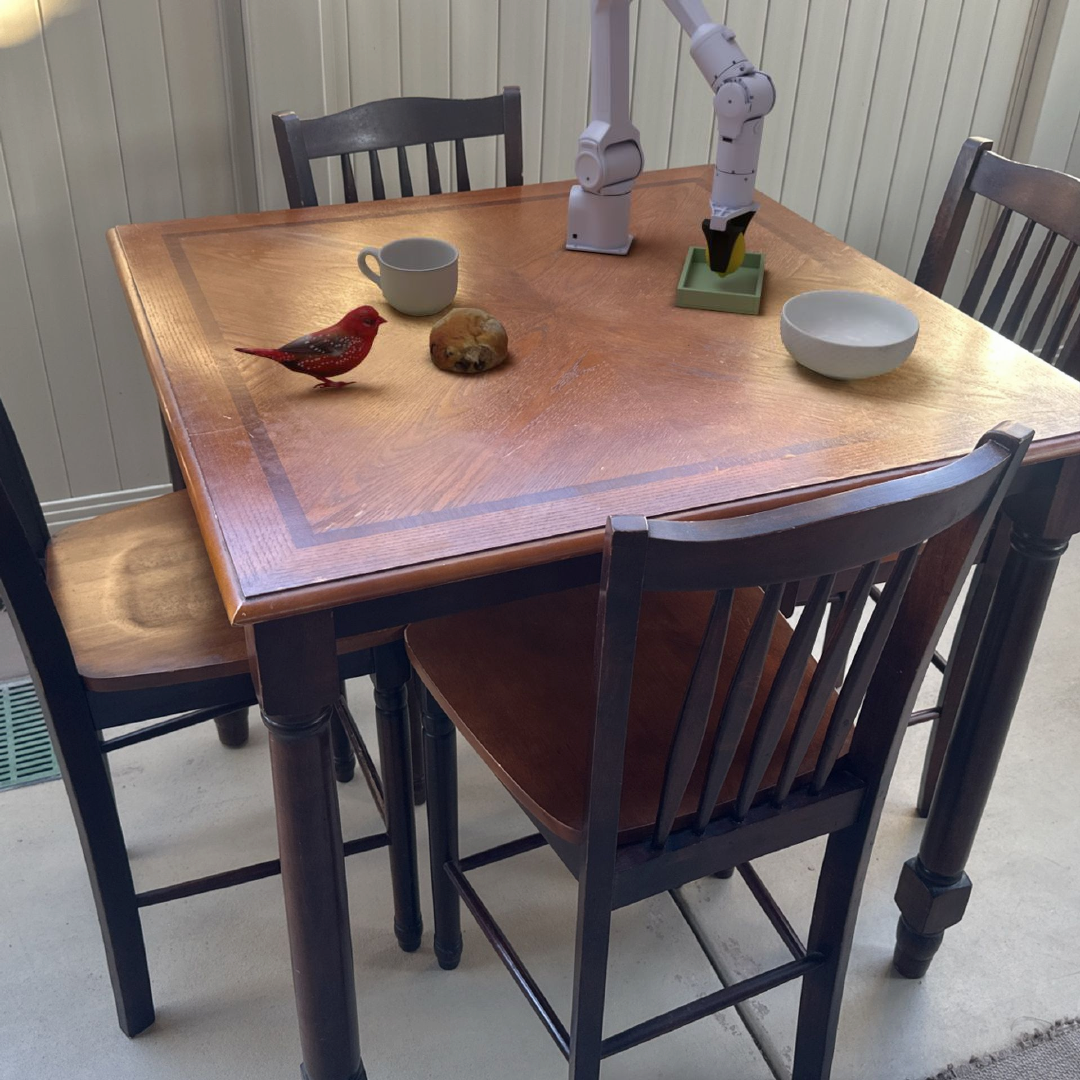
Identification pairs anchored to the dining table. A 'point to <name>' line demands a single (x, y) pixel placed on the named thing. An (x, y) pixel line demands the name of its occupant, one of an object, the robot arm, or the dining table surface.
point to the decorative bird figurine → (329, 347)
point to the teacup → (415, 274)
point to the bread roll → (468, 341)
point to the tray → (721, 284)
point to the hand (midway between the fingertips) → (723, 264)
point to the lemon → (732, 257)
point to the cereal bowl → (848, 333)
